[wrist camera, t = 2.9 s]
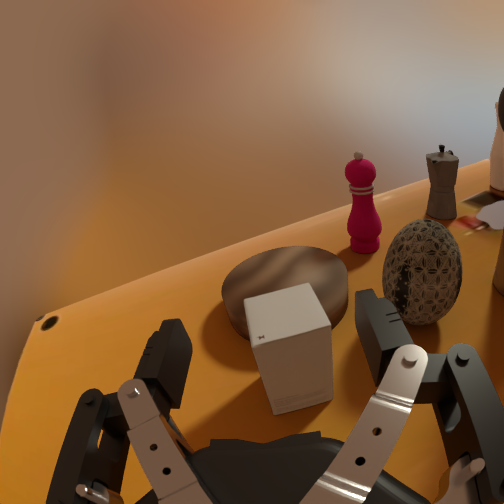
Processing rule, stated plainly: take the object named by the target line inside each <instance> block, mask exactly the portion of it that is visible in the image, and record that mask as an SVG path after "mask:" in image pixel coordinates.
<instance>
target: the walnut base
mask: <svg viewBox="0 0 504 504" xmlns="http://www.w3.org/2000/svg"><path fill="white" fill-rule="evenodd" d="M305 283H309V284H310V286H311V287H312V289H313V291H314V293H315V294H316V296H317V298H318V300H319V302H320V304H321V306H322V308H323V309H324V311H325V313H326V315H327V317H328V319H329V321H330V323H331V329H333V328H334V327H335V326H336V325H337V324H338V323H339V322H340V320H341V319H342V318H343V316H344V314H345V313H346V310H347V307H348V274H347V269H346V266H345V264H344V263H343V261H342V260H341V259H340V258H339V257H337V256H336V255H334V254H333V253H331V252H329V251H326V250H323V249H320V248H315V247H308V246H290V247H282V248H277V249H272V250H268V251H265V252H262V253H259V254H257V255H255V256H252V257H250V258H248V259H247V260H245V261H243V262H242V263H240V264H239V265H237V266H236V267H235V268H234V269H233V270H232V271H231V272H230V273H229V274H228V276H227V277H226V278H225V280H224V282H223V285H222V298H223V301H224V304H225V307H226V310H227V312H228V315H229V318H230V321H231V323H232V326H233V327H234V329H235V330H236V331H237V332H238V333H239V334H240V335H241V336H242V337H244V338H245V339H247V340H249V341H250V335H249V329H248V325H247V318H246V312H245V307H244V299H247V298H251V297H256V296H259V295H263V294H267V293H271V292H274V291H278V290H282V289H286V288H290V287H293V286H297V285H301V284H305Z"/></svg>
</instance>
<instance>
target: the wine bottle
mask: <svg viewBox="0 0 504 504" xmlns="http://www.w3.org/2000/svg"><path fill="white" fill-rule="evenodd" d="M495 107H496V112H497V129H496V133H495V137H494V141H493V145H492V148H491V154H490V157H491V158H490V185H491V186H492V187H493V188H495V189H497V190H500V191H504V132H503V130H502V127H501V125H500V121H499V116H498V102H496V104H495Z"/></svg>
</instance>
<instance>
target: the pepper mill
mask: <svg viewBox="0 0 504 504" xmlns="http://www.w3.org/2000/svg"><path fill="white" fill-rule="evenodd" d="M354 157H355V160H352V161H350V162H349V163H348V164H347V165H346V168H345V176H346V178H347V180H348V181H349V182H350V183H351V184H349V187H350V190H349V191H350V192H351V193H352V197H353V204H352V210H351V213H350V216H349V219H348V223H347V231H348V233H349V235H350V236H351V239H350V243H351V249H352V250H353V251H355V252H357V253H362V254H368V253H372V252H375V251H377V250H378V249H379V246H380V244H379V237H378V236H379V234H380V233H381V230H382V226H381V221H380V218H379V216H378V214H377V212H376V209H375V207H374V203H373V192H374V191H375V189H374V183H372V182H373V181H374V179H375V177H376V170H375V167H374V165H373V164H372V163H371V162H370V161H368V160H365V159H363V154H362V152H360V151H357V152H355V153H354Z"/></svg>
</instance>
